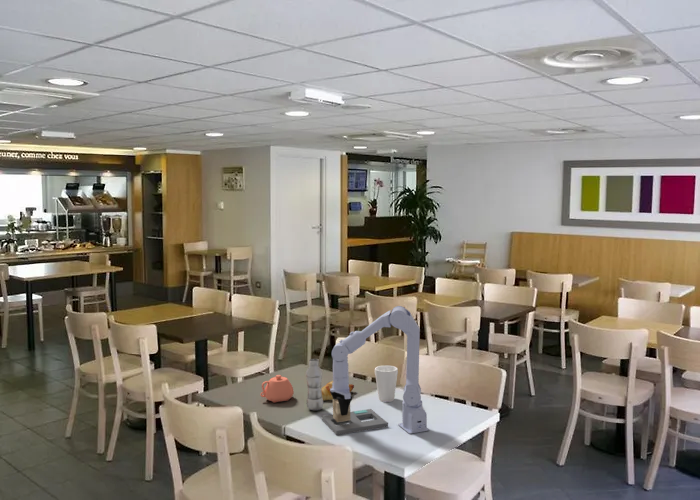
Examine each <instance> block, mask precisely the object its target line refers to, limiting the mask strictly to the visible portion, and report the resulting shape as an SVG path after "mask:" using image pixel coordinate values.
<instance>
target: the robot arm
mask: <svg viewBox="0 0 700 500" xmlns="http://www.w3.org/2000/svg"><path fill="white" fill-rule="evenodd" d="M391 327H394V328H396V329H398V330H400V331H402V332H403V333H404V334H405V335H406V337H407V338H406V373H405V374H406V377H405V378H406V379H405V380H406V381H405V385H404V387H403V395H402V399H403V400H402V402H401V403H402V404H401V405H402V406H401V407H402V409H401V410H402V411H401V413H402V414H401V415H402V416H401V417H402V422H400V423H398V426H399V427H400V428H401V429H403V431H405V432H406V433H407V434H411V435H412V434H417V433H423V432H428V431H430V429H429V428H428V425H427V423H428V422H427V420H428V419H427V414H428V413H427V412H426V410H425V409H424V407H423V400H422V395H421V393H422V390H421V389H422V388H421V386H420V383H419V380H420V379H419V378H420V377H419V376H420V375H419V374H420V332H421V329H420V326H419V325H418V323H417V321H416V320H415V318H414V317H413V315H412V313H411V312H410V311H409V310H408V309H407V308H405V307H404V306H402V305H397V306H394V307H393V308H392V309H389V310H388V311H386V312H385V313H383V314H382V315H380V316H379V317H378V318H377V319H375V320H374V321H372V322H371V323H370V324H369V325H367V326H366V327H365V328H363V329H362V330H355V331H351V332H350V333H349V335H348V336H347V337H345V338H344V339H339V342H337V343H336V344H335V345H334V346H333V348H332V350H331V358H332V381H333V383H332V388H331V389H330V393H331V395H332V397H333V399H337V400H338V402H339V406H340V412H341V415H342V416H343V415H347V413H348V409H349V405H350V406H351V402H352V400H353V399H354V398H353V396H352V395H351V392H350V391H349V384H350V381H349V380H350V378H349V376H350V375H349V373H350V371H349V362H348V361H349V360H348V359H349V357H348V355H349V354H350V355H351V354H353V353H354V352H356V351H357V350H358V349H360V348H361V347H362V346H364V345H365V344H366V340H367V338H369V337H370V336H372V335H374V334H375V333H376V332H378V331H380V330H381V329H383V328H391Z"/></svg>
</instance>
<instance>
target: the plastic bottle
mask: <svg viewBox="0 0 700 500" xmlns="http://www.w3.org/2000/svg"><path fill="white" fill-rule="evenodd" d="M319 364H320V362H319V359H318V358H311V359H309V363H308V365H309V367H307V369H306V371H305V377H306V383H307V396H306V397H307V398H306V407H307V409H308V410H309V411H310V410H311V411H320V410H322V409H323V407H324V400H323V398H322V391H321V389H322V382H323V381H322V380H323V370H322V369H321V367H320V366H319Z"/></svg>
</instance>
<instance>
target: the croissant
mask: <svg viewBox="0 0 700 500" xmlns="http://www.w3.org/2000/svg"><path fill="white" fill-rule="evenodd" d="M332 383H333V380H331V381H328V382H327V383H326V384H325V385H322V386H321V391H322V398H323V401H333V397H332V395H331V393H330V389H331V388H332ZM354 388H355V385H354V384H351V383H349V391H350V393H351V392H352V391H353V389H354Z"/></svg>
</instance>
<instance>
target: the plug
mask: <svg viewBox="0 0 700 500" xmlns="http://www.w3.org/2000/svg"><path fill="white" fill-rule="evenodd" d="M350 412H351V404H350V405H349V409H348V413H347V415H343V416H342V415H341V412H340V406H339V402H338V400H337V399H333V400H332V415H333V418H334V419H335V420H336V421H337V423H344V422H347V421H349V420H350ZM343 421H344V422H343Z"/></svg>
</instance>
